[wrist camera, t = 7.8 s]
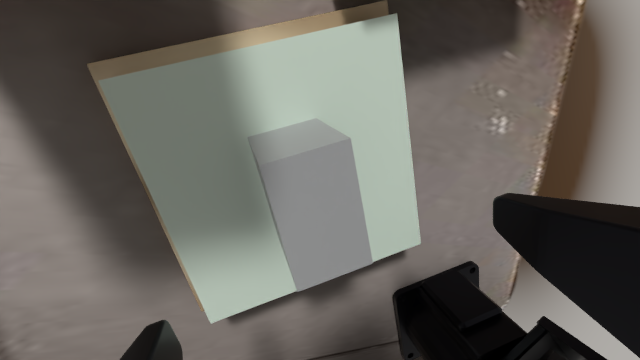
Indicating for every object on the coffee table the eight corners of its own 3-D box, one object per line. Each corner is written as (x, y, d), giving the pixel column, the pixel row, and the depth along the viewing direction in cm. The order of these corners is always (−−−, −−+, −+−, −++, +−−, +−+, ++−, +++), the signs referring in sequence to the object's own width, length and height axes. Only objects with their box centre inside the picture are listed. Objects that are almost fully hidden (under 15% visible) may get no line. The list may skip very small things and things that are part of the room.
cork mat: (407, 229, 21) (412, 233, 20) (202, 304, 18) (201, 311, 18) (381, 2, 16) (387, 0, 15) (91, 63, 13) (86, 63, 13)
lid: (402, 227, 20) (471, 289, 15) (211, 296, 18) (209, 400, 12) (375, 18, 15) (462, -4, 10) (114, 77, 13) (43, 90, 8)
